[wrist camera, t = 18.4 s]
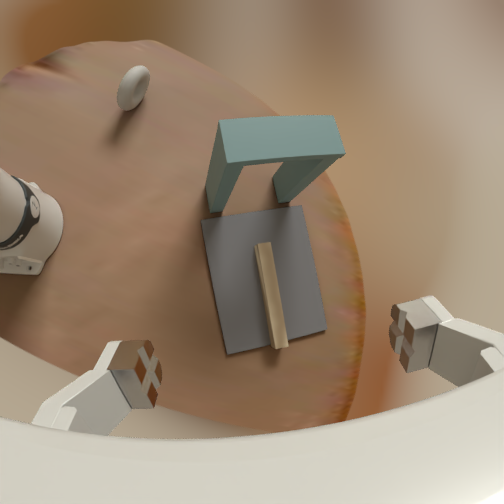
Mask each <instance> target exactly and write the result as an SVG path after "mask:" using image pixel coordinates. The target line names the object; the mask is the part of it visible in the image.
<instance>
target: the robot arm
mask: <svg viewBox="0 0 504 504" xmlns="http://www.w3.org/2000/svg"><path fill="white" fill-rule="evenodd" d="M62 230H63V216H62V212H61V209H60V206H59V205H58V203H57V202H56V200H55V199H54V198H52V197H51V196H50V195H48V194H46V193H44V192H42V191H41V189H40V188H39V187H38V185H37V184H35V183H33V182H31V183H27V182H25V181H23V180H21V179H19V178H16V177H14V176H11V175H9V174H8V173H6V172H5V171H4V170H3V169H1V168H0V273H7V274H24V275H38V274H40V272H41V271H42V269H43V266H44V263H45V261H46V259H47V258H48V257H49V256H50V255H51V254H52V253H53V251H54V250H55V249H56V247H57V245H58V243H59V241H60V238H61V235H62ZM30 267H32V269H31V270H30ZM391 317H392V318H393V320H394V321H393V322H392V324H391V325H390V328H389V337H390V343H391V346H392V348H393V350H394V352H396V353H398V354H400V360H399V361H400V362H401V364H402V366H403V368H404V369H405V371H406V373H409V372H413V371H417V370H420V369H424V368H427V367H429V369H430V370H432V371H434V372H435V373H437V374H438V375H440V376H442V377H443V378H445V379H447V380H448V381H450V382H451V383H453V384H455V385H456V386H458V388H455V389H453V390H450V391H447V392H445V393H442V394H439V395H436V396H433V397H430V398H427V399H424V400H422V401H419V402H415V403H412V404H409V405H406V406H402V407H399V408H395V409H392V410H389V411H385V412H381V413H378V414H373V415H369V416H365V417H362V418H357V419H353V420H348V421H343V422H339V423H334V424H329V425H323V426H318V427H312V428H306V429H300V430H293V431H286V432H279V433H271V434H262V435H252V436H240V437H226V438H207V439H149V438H130V437H117V436H108V435H109V433H110V432H111V431H112V430H113V429H114V428H115V427H116V426H117V425H118V424H119V423H120V422H121V421H122V420H123V419H124V418H125V417H126V416H127V415H128V413H129V412H130V411H131V410H132V409H148V408H149V409H150V408H154V407H155V403H156V400H157V396H158V393H157V391H156V389H157V388H158V387H159V386H160V385H161V381H162V369H161V365H160V362H159V360H158V359H157V358H156V357H155V356H154V355H152V354H153V352H154V348H153V345H152V343H151V341H149V340H129V341H111V342H108V344H107V345H106V347H105V349H104V351H103V353H102V355H101V356H100V358H99V360H98V362H97V364H96V366H95V368H94V370H89V371H88V372H86V373H85V374H83V375H82V376H80V377H79V378H78V379H77V380H75V381H73V382H72V383H70V384H69V385H67V386H66V387H65V388H63V389H62V390H60V391H59V392H57V393H56V394H54V395H53V396H51V397H50V398H49V399H47V400H46V401H45V402H43V403H42V405H41V407H40V408H39V410H38V412H37V414H36V416H35V417H34V419H33V421H32V423H31V424H29V423H24V422H20V421H16V420H12V419H7V418H4V417H0V504H504V334H503V333H500V332H497V331H494V330H491V329H488V328H486V327H483V326H480V325H477V324H474V323H471V322H468V321H466V320H463V319H460V318H456V319H455V318H453V316H452V315H451V314H450V313H449V312H448V311H447V310H446V309H445V308H444V307H443V305H441V303H440V302H439V301H438V300H437V299H436V298H435V297H434V296H432V295H430V296H426V297H422V298H419V299H416V300H412V301H408V302H404V303H399V304H395V305H393V306H392V309H391Z"/></svg>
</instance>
